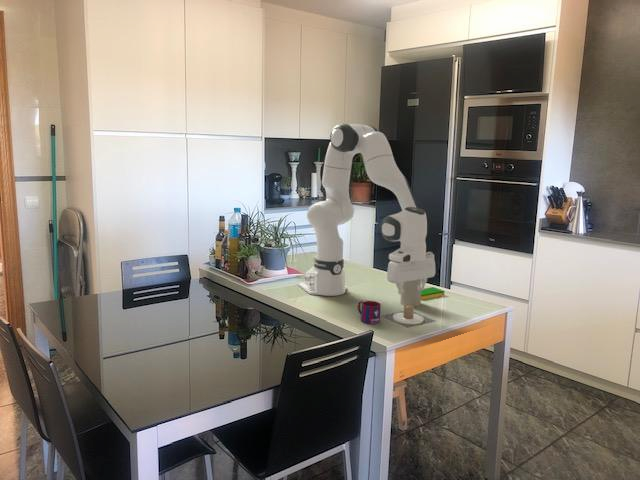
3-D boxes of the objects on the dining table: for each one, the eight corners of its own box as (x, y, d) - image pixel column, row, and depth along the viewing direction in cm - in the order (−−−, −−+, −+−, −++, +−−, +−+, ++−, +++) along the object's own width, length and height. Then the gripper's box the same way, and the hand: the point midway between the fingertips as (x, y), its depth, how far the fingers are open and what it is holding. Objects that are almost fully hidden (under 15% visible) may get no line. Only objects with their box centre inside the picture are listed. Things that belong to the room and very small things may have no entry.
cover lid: (386, 317, 189) (387, 304, 188) (409, 312, 195) (409, 300, 194) (407, 326, 180) (407, 313, 179) (430, 321, 186) (431, 308, 185)
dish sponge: (408, 296, 219) (409, 290, 218) (432, 292, 226) (433, 286, 226) (420, 300, 213) (420, 295, 212) (444, 296, 220) (445, 291, 220)
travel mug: (423, 306, 204) (427, 262, 200) (405, 308, 201) (408, 262, 198) (414, 300, 211) (417, 257, 208) (396, 302, 209) (399, 258, 206)
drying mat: (380, 316, 191) (381, 315, 190) (409, 310, 198) (409, 309, 198) (406, 328, 179) (407, 327, 179) (436, 321, 187) (436, 320, 187)
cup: (368, 326, 180) (369, 307, 179) (352, 317, 189) (352, 299, 187) (383, 323, 183) (384, 305, 182) (367, 315, 192) (368, 297, 191)
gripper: (427, 249, 191) (426, 286, 193) (385, 255, 180) (383, 293, 182) (440, 252, 186) (438, 289, 188) (397, 258, 175) (395, 298, 177)
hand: (411, 291), depth 185 cm, fingers open, 8 cm apart
